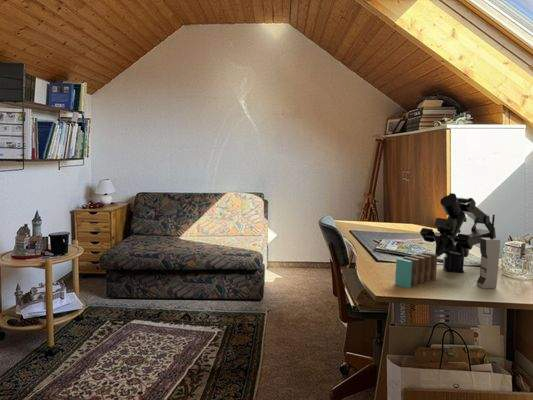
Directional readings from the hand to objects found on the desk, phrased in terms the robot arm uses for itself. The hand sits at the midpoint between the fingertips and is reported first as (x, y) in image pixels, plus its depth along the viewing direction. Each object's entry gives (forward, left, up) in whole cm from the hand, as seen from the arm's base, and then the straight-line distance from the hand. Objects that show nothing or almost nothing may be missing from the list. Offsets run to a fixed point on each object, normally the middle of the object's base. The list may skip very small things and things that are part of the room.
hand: (436, 256), depth 158 cm
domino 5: (+3, +4, -7) cm, 9 cm away
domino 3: (+8, +10, -7) cm, 15 cm away
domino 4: (+6, +7, -7) cm, 12 cm away
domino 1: (+14, +16, -7) cm, 22 cm away
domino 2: (+11, +13, -7) cm, 19 cm away
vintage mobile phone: (-15, +10, -8) cm, 19 cm away
